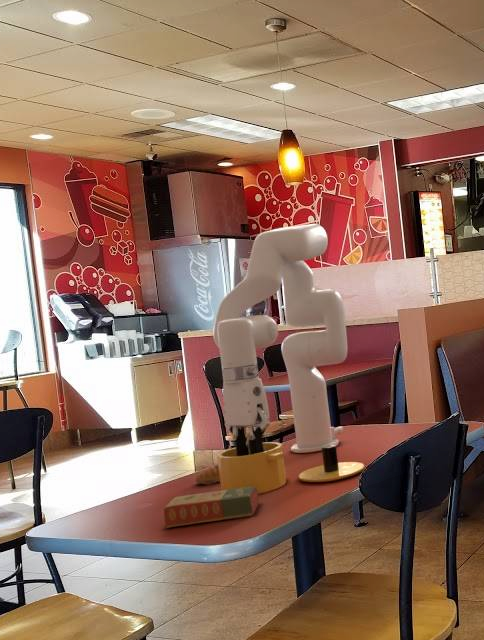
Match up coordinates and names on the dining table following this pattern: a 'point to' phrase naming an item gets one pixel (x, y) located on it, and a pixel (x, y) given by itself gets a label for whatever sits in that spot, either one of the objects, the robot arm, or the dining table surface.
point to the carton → (211, 506)
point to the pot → (253, 469)
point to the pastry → (209, 476)
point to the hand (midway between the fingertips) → (250, 455)
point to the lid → (331, 468)
